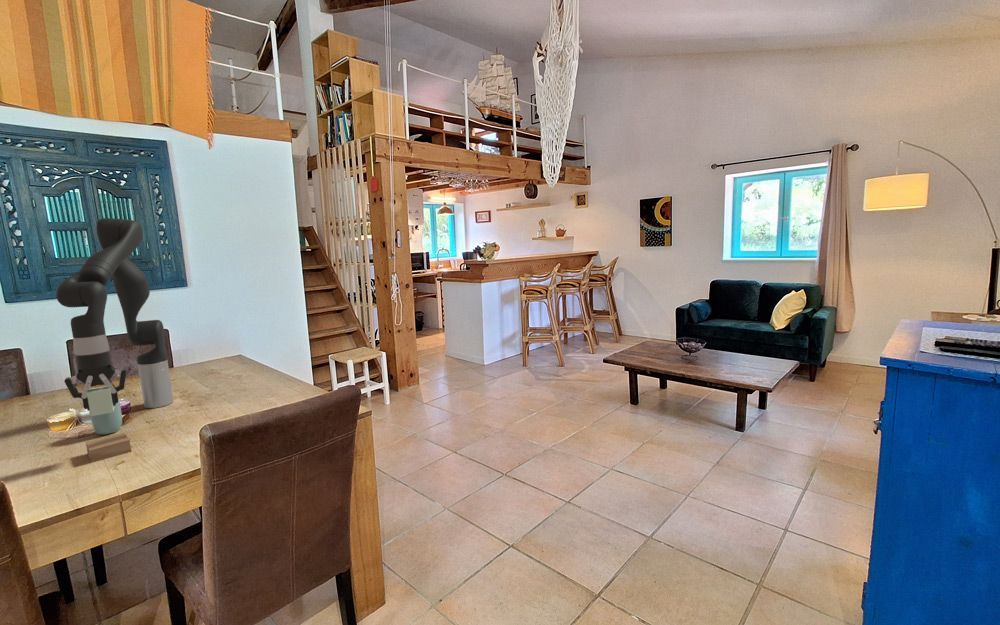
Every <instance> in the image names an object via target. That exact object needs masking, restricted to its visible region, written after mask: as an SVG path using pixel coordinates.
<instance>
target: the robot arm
mask: <svg viewBox="0 0 1000 625" xmlns="http://www.w3.org/2000/svg"><path fill="white" fill-rule="evenodd" d="M95 228H96V235H97V240H98V242H99V245H100V246H101V250H99V251H97V252H96V253H93V254H92V255H91V256H90V257H89V258H88V259H86V261H85V262H84V264H83V265H82V267H81V268H80V269H79V271H77V272H75V273H74V274H72V275H70V277H68V278H67V279H65V280H64V281H63V282H62V283H60V285H59V286H58V288H57V290H56V292H55V293H56V300H57V301H58V303H59V304H60V305H61V306H63V307H66V308H83V307H84V308H86V307H87V310H86V313H84V314H80V315H77V316H74V317H72V318H71V319H70V327H71V328H70V329H71V333H72V340H73V342H72V343H73V344H72V346H73V353H74V358H75V362H76V363H75V364H76V369H77V373H76V375H73V376H68V377H66V378H64V381H63V382H64V384H65V385H66V388H67V389H68V392H69V393H70V395H71V396H72V398H73V399H77V398H78V399H82V404H83V408H84V410H87V411H88V412H89V410H90V409H89V403H88V397H87V392H89V389H91V388H93V387H96V386H103V385H104V386H107V388H110V391H111V397H112V403H113V406H115V405H116V403H118V400H119V397H118V396H119V394H118V393H119V392H120V391H122V390H124V388H125V384H126V377H127V369H126V368H122V369H117V368H116V369H115V368H114V366H113V363H112V362H113V361H112V357H111V351H110V345H109V340H108V337H107V334H106V327H105V322H104V318H105V310H106V304H107V301H108V290H107V289H106V287H105V286H107V284H108V283H109V281H110V280H111V278H112V280H113V281H112V282H113V285H114V288H115V292H116V295H117V297H118V301H119V303H120V304H119V305H120V307H121V310H122V314H123V319H124V323H125V327H126V329H125V330H126V334H127V337H128V341H129V343H130V344H131V345H132V346H135V347H139V346H140V347H141V346H148V345H149V346H150V345H154V347H153V348H152V349H151V350H148V351H146V352H144V353H142V354H140V355H137V357H136V362H137V368H138V369H137V371H138V376H139V381H140V387H141V394H142V401H143V406H144V408H145V409H154V408H160V407H161V408H162V407H165V406H169V405H171V404H173V403H174V395H173V388H172V382H171V375H170V374H171V373H170V367H169V360H168V355H167V348H166V340H165V329H164V324H163V322H162V320H159V319H154V320H153V319H152V320H141V321H139V320H137V318H138V315H139V313H140V311H141V309H142V308H143V306H144V305H145V304H146V302H147V300H148V298H149V296H150V293H151V292H150V288H149V283H148V279H147V276H146V274H144V272H143V271H142V270H141V269H140V268H139V267H138V266H137V265H136V264H134V263H133V262H132V261H131V260H129V259H128V257H129V256H130V255H131V254H132V253H133V252H135V251H136V250H137V249H138V248H139V246H140V245H141V243H142V242H143V241H142V240H143V238H144V232H143V226H142V225H141V223H140V222H138V221H137V220H133V219H125V218H111V217H104V218H103V217H102V218H100V219H98V220H97V223H96V227H95ZM114 374H116V375H117V377H118V378H119V383H118V386H115V385H114V383H113V381H112V380H111V379H112V377H113V376H114ZM77 380H79V381H80V382H81V383H83V384H84V388H83V391H82V392H79V389H77V387H76V383H77Z"/></svg>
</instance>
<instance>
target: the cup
mask: <svg viewBox="0 0 1000 625" xmlns="http://www.w3.org/2000/svg"><path fill="white" fill-rule="evenodd" d="M121 407H122V406H121V402H120V400H119V399H118V403H116V405H115V406H114V412H111V413H106V414H101V415H96V416H91V414H90V410H89V411H88V412H89V417H90V421H91V425H92V428H93V430H94V432H95V433H96V434H98V435H103V436H104V435H110V434H114V433H116V432H118V431H119V430H120V429H121V427H122V425H123V413H122V408H121Z"/></svg>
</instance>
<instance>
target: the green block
mask: <svg viewBox="0 0 1000 625" xmlns="http://www.w3.org/2000/svg"><path fill="white" fill-rule="evenodd" d="M87 397H88V403H89V409H90V412H89V415H90V414H91V416H96V415H101V414H106V413H111V412H114V406H113V403H112V397H111V391H110V388H107V386H106V385H104V386H98V387H91V388H90V389H89V392H87Z"/></svg>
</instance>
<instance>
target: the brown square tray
mask: <svg viewBox="0 0 1000 625" xmlns="http://www.w3.org/2000/svg"><path fill="white" fill-rule="evenodd" d="M85 447H86V452H87V455H89V456H88V458H89V460H90V463H91V464H92V462H93V463H97V462H101V461H103V460H107V459H110V458H113V457H118V456H121V455H124V454H129V453H132V446H131V440H130V439H129V437H128V435H127V434H126V433H125V432H122V433H121V432H120V433H117V434H112V435H108V436H105V437H102V438H101V437H100V438H97V439H93V440H90V441H89V440H88V441H85ZM128 452H129V453H128ZM96 461H97V462H96Z"/></svg>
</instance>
